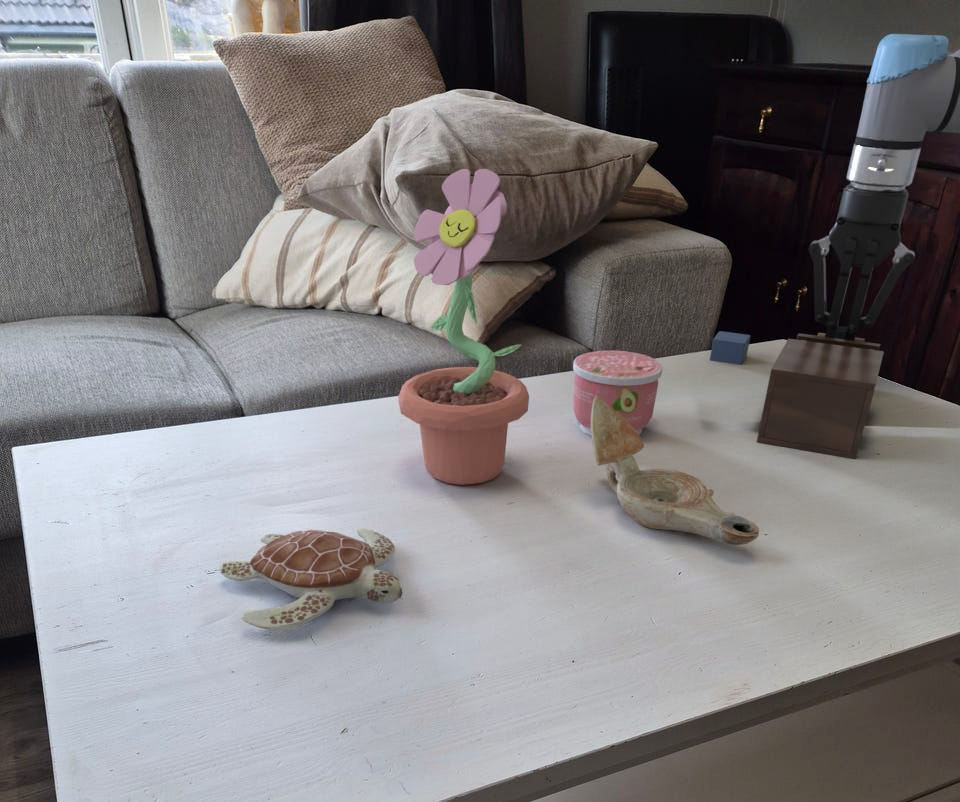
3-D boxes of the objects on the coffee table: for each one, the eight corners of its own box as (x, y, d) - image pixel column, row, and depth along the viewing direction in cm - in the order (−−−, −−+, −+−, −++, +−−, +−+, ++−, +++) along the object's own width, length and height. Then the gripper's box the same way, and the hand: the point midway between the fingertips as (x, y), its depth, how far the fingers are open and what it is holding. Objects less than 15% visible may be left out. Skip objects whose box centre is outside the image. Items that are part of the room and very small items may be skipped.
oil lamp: (614, 475, 102) (624, 386, 96) (777, 549, 88) (800, 451, 83) (558, 496, 97) (565, 404, 91) (721, 577, 84) (741, 475, 78)
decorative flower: (370, 462, 103) (355, 164, 86) (467, 435, 110) (471, 154, 93) (451, 511, 94) (451, 185, 77) (551, 477, 101) (572, 173, 84)
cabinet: (774, 406, 121) (788, 338, 116) (865, 421, 117) (883, 351, 112) (756, 442, 110) (771, 368, 105) (855, 459, 107) (875, 383, 102)
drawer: (793, 373, 130) (804, 321, 126) (869, 384, 126) (883, 331, 122) (772, 416, 115) (784, 359, 111) (857, 430, 112) (873, 371, 108)
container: (554, 432, 112) (558, 367, 107) (589, 407, 119) (595, 345, 115) (635, 451, 107) (643, 384, 103) (666, 423, 115) (675, 359, 110)
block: (714, 361, 136) (719, 330, 134) (744, 366, 135) (750, 335, 132) (707, 370, 133) (713, 338, 130) (739, 375, 131) (745, 343, 129)
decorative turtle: (341, 667, 71) (337, 612, 68) (175, 611, 77) (165, 559, 74) (452, 565, 84) (453, 516, 82) (303, 524, 90) (299, 477, 88)
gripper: (818, 185, 111) (777, 378, 124) (934, 195, 107) (878, 393, 120) (825, 177, 117) (785, 362, 130) (935, 186, 112) (882, 377, 126)
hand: (830, 377), depth 125 cm, fingers closed
